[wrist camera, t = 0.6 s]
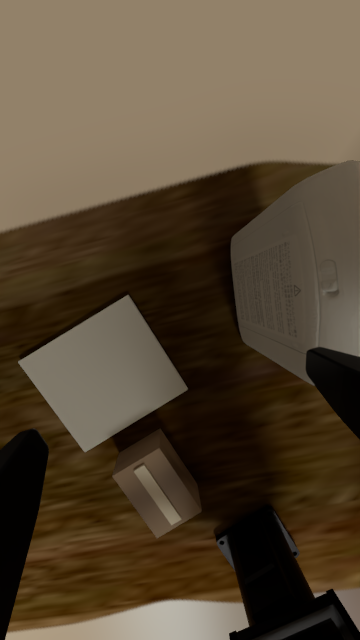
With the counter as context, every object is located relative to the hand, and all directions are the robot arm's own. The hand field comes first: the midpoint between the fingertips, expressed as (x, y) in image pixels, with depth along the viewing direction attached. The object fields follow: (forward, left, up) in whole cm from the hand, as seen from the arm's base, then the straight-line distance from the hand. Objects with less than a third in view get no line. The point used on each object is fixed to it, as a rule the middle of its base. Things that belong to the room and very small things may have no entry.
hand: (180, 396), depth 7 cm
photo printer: (-1, -8, -13) cm, 16 cm away
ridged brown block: (-11, +8, -13) cm, 19 cm away
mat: (0, +7, -13) cm, 15 cm away
